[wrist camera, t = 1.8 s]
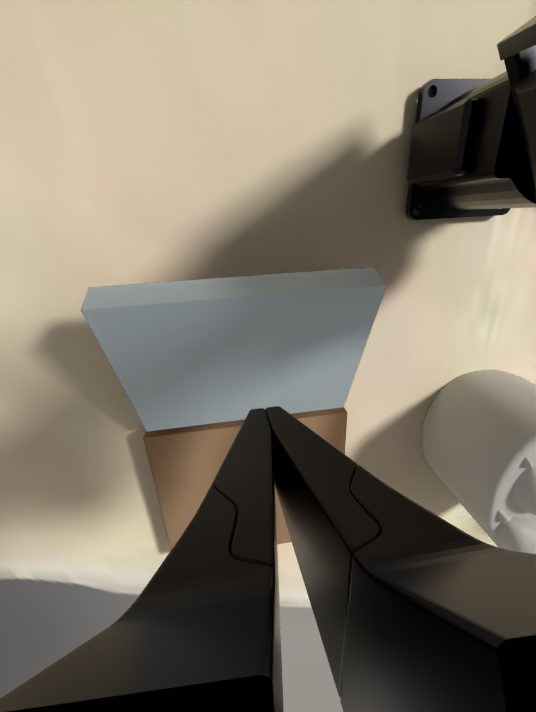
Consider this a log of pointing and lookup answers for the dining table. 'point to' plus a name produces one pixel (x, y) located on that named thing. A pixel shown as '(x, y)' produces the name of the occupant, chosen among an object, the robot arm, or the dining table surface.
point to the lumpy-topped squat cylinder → (488, 452)
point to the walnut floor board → (214, 464)
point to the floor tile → (235, 342)
